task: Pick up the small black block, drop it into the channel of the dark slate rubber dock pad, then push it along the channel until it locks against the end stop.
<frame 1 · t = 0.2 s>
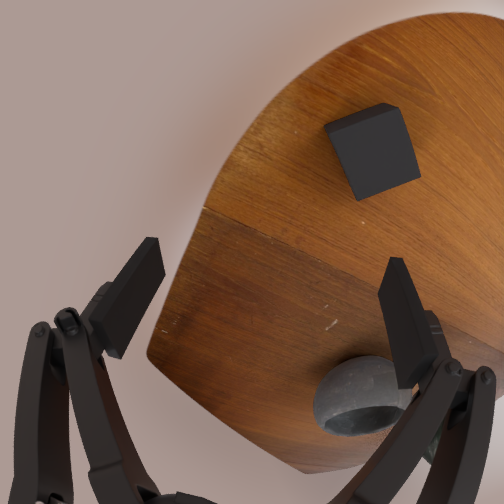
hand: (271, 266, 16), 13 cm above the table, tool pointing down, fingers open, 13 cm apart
bowl: (359, 366, 41), on the table
black block: (367, 143, 23), on the table
squash: (437, 412, 51), on the table
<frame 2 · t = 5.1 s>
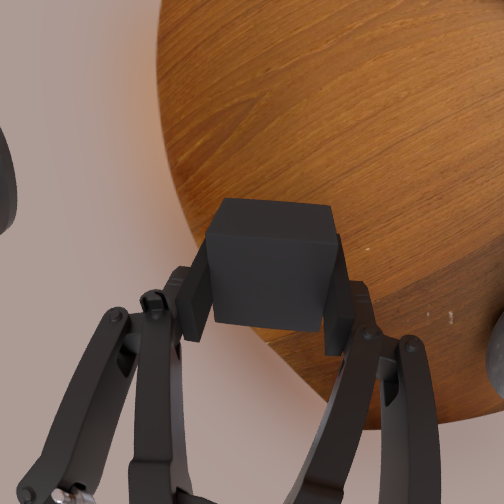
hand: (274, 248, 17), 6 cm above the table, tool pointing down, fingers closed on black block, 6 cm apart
black block: (274, 245, 17), point 6 cm above the table, touching gripper
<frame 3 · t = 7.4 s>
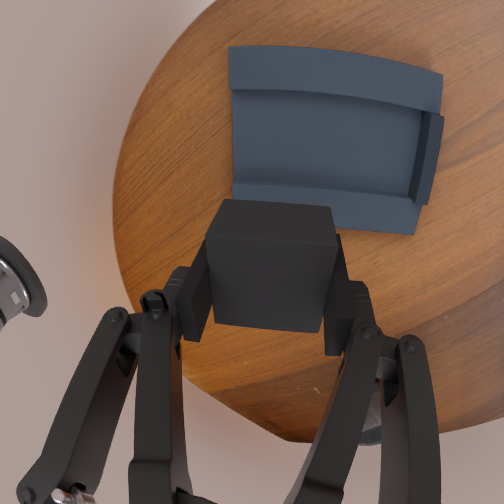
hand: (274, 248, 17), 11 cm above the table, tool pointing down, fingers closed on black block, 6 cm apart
bowl: (380, 387, 45), on the table
black block: (274, 246, 17), point 11 cm above the table, touching gripper
dock pad: (335, 139, 23), on the table
when the fingers open (1 cm above the table, at t = 9.9 s): black block stays where it is, resting on dock pad.
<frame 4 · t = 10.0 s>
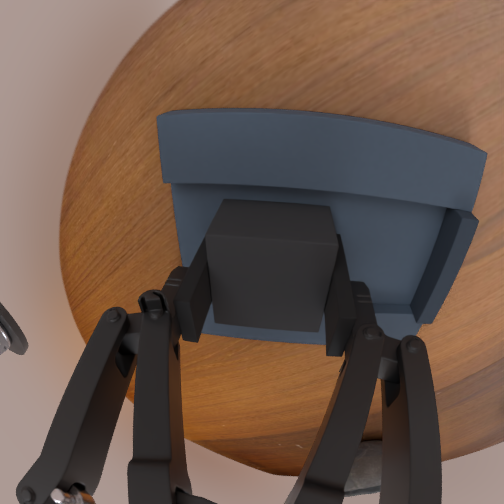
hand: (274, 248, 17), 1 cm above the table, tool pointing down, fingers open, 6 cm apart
bowl: (365, 443, 40), on the table
black block: (274, 246, 17), point 1 cm above the table, touching dock pad
dock pad: (319, 240, 18), on the table
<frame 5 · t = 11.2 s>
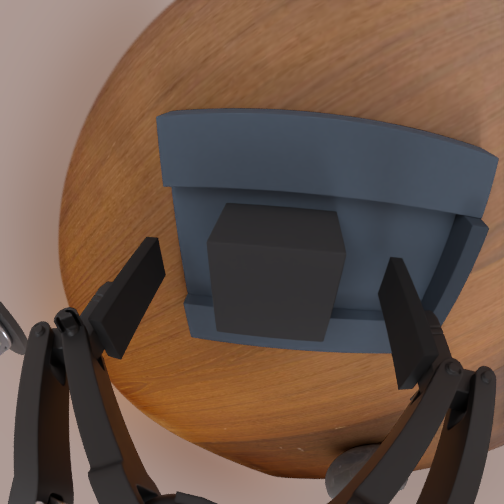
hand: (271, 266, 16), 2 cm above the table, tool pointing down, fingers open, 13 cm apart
bowl: (366, 446, 39), on the table
black block: (278, 252, 17), point 1 cm above the table, touching dock pad
dock pad: (325, 246, 17), on the table
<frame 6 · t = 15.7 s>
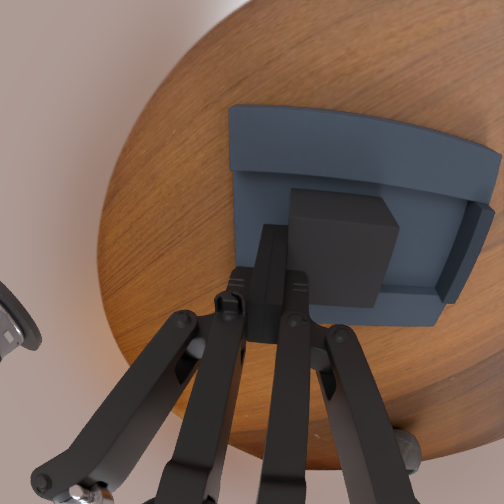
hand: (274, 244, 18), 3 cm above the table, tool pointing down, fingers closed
bowl: (380, 432, 42), on the table
black block: (331, 232, 19), point 1 cm above the table, touching dock pad
dock pad: (361, 228, 20), on the table
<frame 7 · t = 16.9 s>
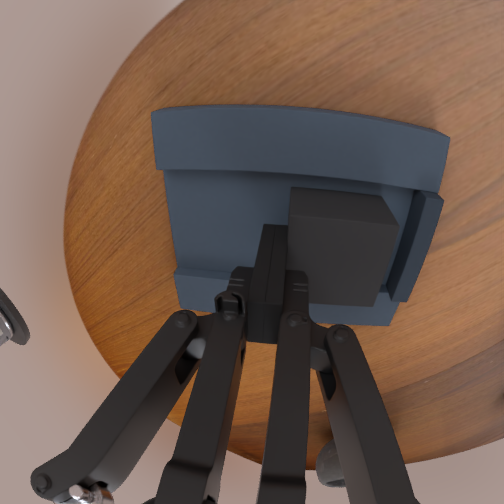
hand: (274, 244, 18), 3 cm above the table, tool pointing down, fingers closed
bowl: (356, 433, 42), on the table
black block: (331, 231, 19), point 1 cm above the table, touching dock pad, gripper
dock pad: (296, 222, 20), on the table
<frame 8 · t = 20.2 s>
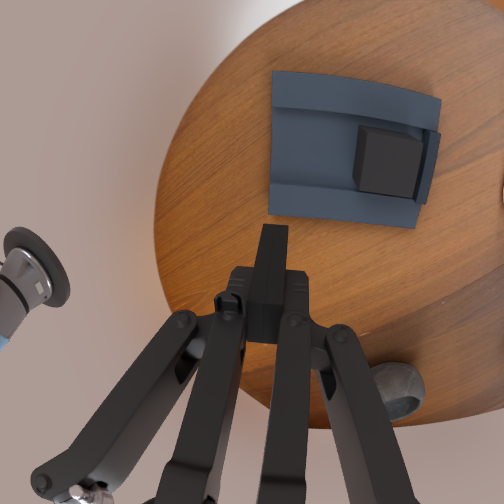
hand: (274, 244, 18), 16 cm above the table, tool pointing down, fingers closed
bowl: (384, 369, 51), on the table
black block: (381, 155, 28), point 1 cm above the table, touching dock pad
dock pad: (353, 149, 29), on the table
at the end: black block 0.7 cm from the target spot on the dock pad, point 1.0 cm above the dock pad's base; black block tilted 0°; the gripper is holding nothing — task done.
